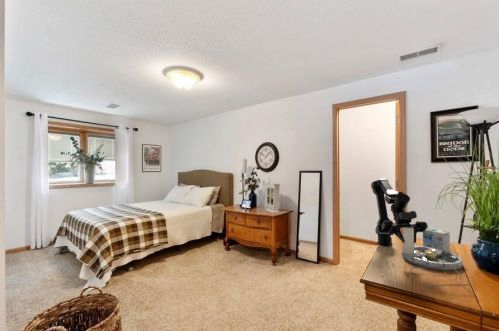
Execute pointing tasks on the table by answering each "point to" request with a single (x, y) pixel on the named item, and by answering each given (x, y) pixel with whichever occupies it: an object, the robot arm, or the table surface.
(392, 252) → the table surface
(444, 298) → the table surface
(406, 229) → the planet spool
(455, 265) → the carrier plate
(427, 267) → the eyeglasses
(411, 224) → the robot arm
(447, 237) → the light bulb box
